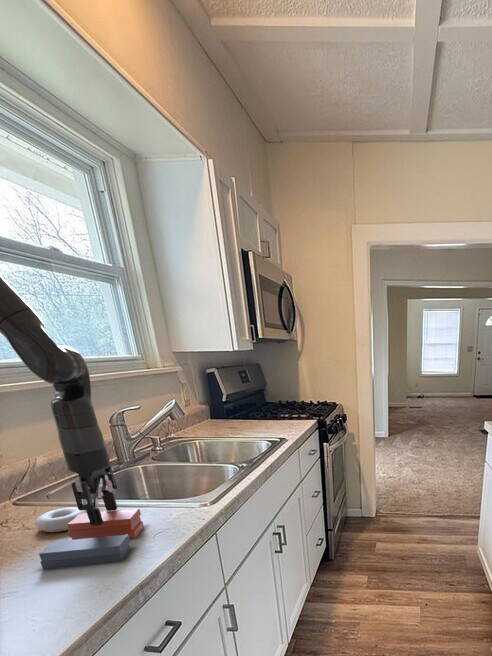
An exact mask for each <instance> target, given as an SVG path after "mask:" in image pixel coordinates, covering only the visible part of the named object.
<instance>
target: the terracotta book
mask: <svg viewBox="0 0 492 656" xmlns="http://www.w3.org/2000/svg"><path fill="white" fill-rule="evenodd" d="M100 513H101V516H102V520H103V523H102V524H101V525H96V526H92V525H91V524H90V521H89V518H88V515H87V512H86V513H80V514H79V515H78V516H76V517H75V518H74V519H73V520H72V521H70V522H69V523H68V524H67V525H68V528H69V530H68V531H71V530H82V529H94V528H105V527H116V526H128V525H132V524H133V523H134V522H135V521H136V520H137V519H138V517H139V516H140V517H141V515H142V513H141V510H140V508H131V509H116V510H113V511H107V510H106V511H100Z"/></svg>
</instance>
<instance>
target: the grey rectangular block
mask: <svg viewBox="0 0 492 656" xmlns="http://www.w3.org/2000/svg"><path fill="white" fill-rule="evenodd" d="M130 543H131V538H130V539H129V535H118V536H108V537H97V538H86V539H75V540H72V539H65V540H54V541H52V542H51V543H50V544H49V545H47V546H46V547H45V548H44V549H43V550H41V551H40V552H39V553H38V555H39V559H40V565H41V568H42V570H43V571H45V570H53V569H62V568H63V569H65V568H72V567H82V566H84V567H85V566H91V565H93V566H94V565H103V564H112V563H120V562H121V563H122V562H124V561H123V560H125V558H126V557H127V556H128V554H129V553H130V551H131V550H132V549H131V545H130Z"/></svg>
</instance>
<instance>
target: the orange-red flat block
mask: <svg viewBox="0 0 492 656" xmlns="http://www.w3.org/2000/svg"><path fill="white" fill-rule="evenodd" d="M144 528H145V526H144V522H143V520H142V519H141V515H140V516H139V517H138V519H137V520H136V521H135V522H134V523H133V524H132V525H128V526H116V527H105V528H94V529H82V530H71V531H69V530H67V534H68V536H69V538H71V540H75V539H86V538H97V537H108V536H118V535H129V539H130V540H131V539H136V538H137V537H138V536H139V534H140V533H141V532H142V530H143V529H144Z"/></svg>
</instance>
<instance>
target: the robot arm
mask: <svg viewBox="0 0 492 656" xmlns="http://www.w3.org/2000/svg"><path fill="white" fill-rule="evenodd" d="M44 328H45V323H44V322H43V320H42V318H41V317H40V316H39V315H38V313H37V312H36V311H35V310H34V309H33V308H32V307H31V306H30V305H29V304H28V303H27V301H25V300H24V299H23V297H22V296H20V295H19V293H18V292H17V291H15V289H14V288H13V287H12V286H11V285H10V284H9V283H8V282H7V281H6V280H5V279H4V278H3V277H2V276H1V275H0V334H1V335H2V336H3V337H4V338H5V339H6V340H7V342H8V343H9V345H10V347H11V348H12V349H13V351H14V352H15V354H16V355H17V356H18V358H19V359H20V360H21V361H22V363H23V364H24V366H26V368H27V369H28V370H29V371H30V372H31V373H32V374H33V375H35V376H36V377H38V378H39V379H40V380H41V381H44V382H45V383H48V384H51V385H52V389H53V397H52V399H51V400H50V402H49V406H50V411H51V414H52V417H53V421H54V424H55V427H56V430H57V436H58V441H59V445H60V447H61V450H62V451H61V452H62V453H63V457H64V459H65V463H66V467H67V469H68V471H69V472H71V473H73V474H74V473H75V474H77V475H78V481H76V482H71V489H72V492H73V496H74V499H75V502H76V503H75V504H76V506H77V508H78V509H79V510H84V511H86V513H87V515H88V518H89V521H90V524H91V525H92V526H96V525H101V524H102V523H103V520H102V516H101V513H100V512H101V510H100V508H99V500H100V499H101V498H102V500H103V504H104V507H105V510H106V511H117V510H118V504H117V501H116V497H115V493H116V490H117V489H118V485H117V481H116V479H115V475H114V471H113V469H112V466H111V461H110V458H109V454H108V449H107V446H106V443H105V439H104V436H103V432H102V431H101V428H100V426H99V424H98V419H97V416H96V413H95V409H94V405H93V403H92V388H91V387H92V386H91V377H90V372H89V368H88V365H87V362H86V360H85V359H84V357H83V356H82V354H80V353H79V351H77V350H76V349H74V348H72V347H70V346H68V345H58V344H57V343H55V341H54V340H53V339H52V337H50V335H49V334H48V333H47V332H46V331H45V329H44Z"/></svg>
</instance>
